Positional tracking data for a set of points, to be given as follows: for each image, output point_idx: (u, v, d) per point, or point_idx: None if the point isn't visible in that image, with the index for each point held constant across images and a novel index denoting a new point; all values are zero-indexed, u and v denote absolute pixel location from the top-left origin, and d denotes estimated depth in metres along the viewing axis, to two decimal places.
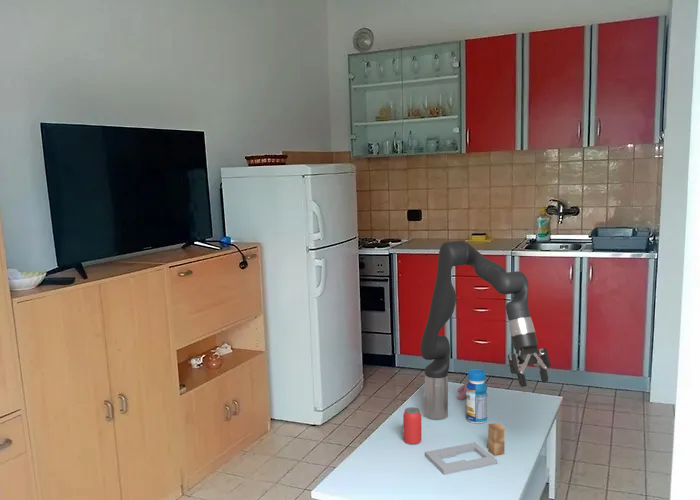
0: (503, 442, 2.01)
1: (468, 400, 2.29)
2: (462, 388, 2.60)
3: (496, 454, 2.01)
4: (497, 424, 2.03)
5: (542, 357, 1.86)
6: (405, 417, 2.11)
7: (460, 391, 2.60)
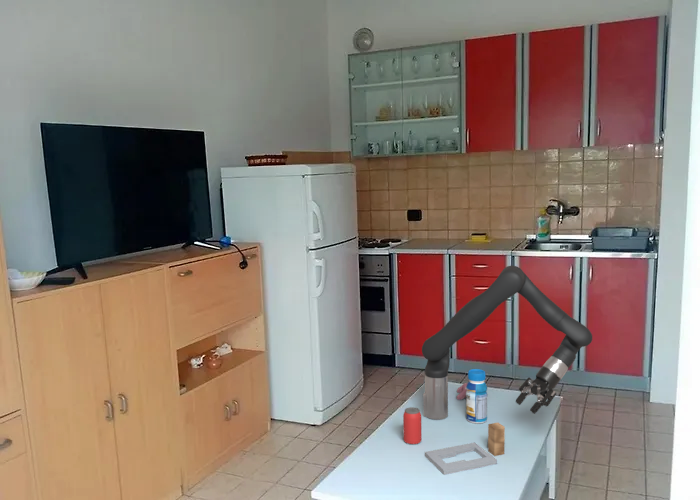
0: (503, 442, 2.01)
1: (468, 400, 2.29)
2: (461, 388, 2.60)
3: (496, 454, 2.01)
4: (497, 424, 2.03)
5: (527, 385, 2.12)
6: (405, 417, 2.11)
7: (459, 391, 2.60)
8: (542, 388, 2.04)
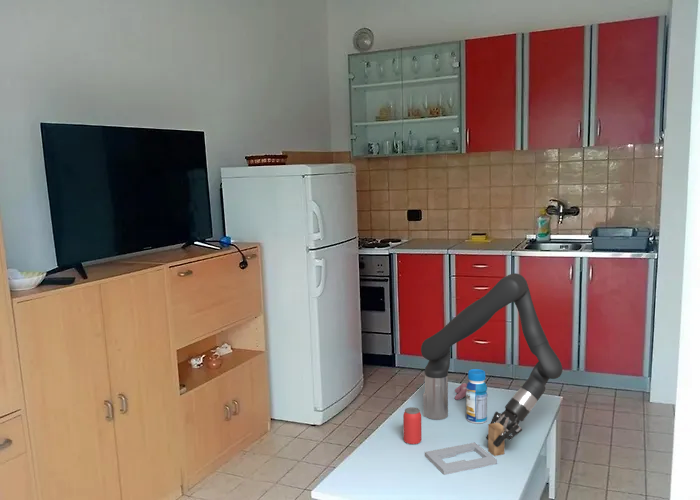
0: (503, 442, 2.01)
1: (468, 400, 2.29)
2: (459, 388, 2.60)
3: (496, 454, 2.01)
4: (497, 424, 2.03)
5: (496, 419, 2.08)
6: (405, 417, 2.11)
7: (457, 391, 2.60)
8: (510, 422, 2.01)
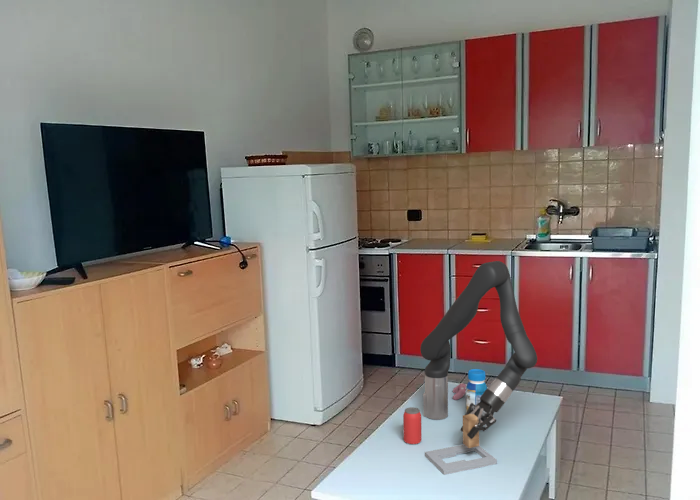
0: (478, 433, 1.97)
1: (468, 400, 2.29)
2: (457, 388, 2.60)
3: (470, 446, 1.97)
4: (472, 416, 1.99)
5: (471, 411, 2.04)
6: (405, 417, 2.11)
7: (455, 391, 2.60)
8: (484, 413, 1.97)
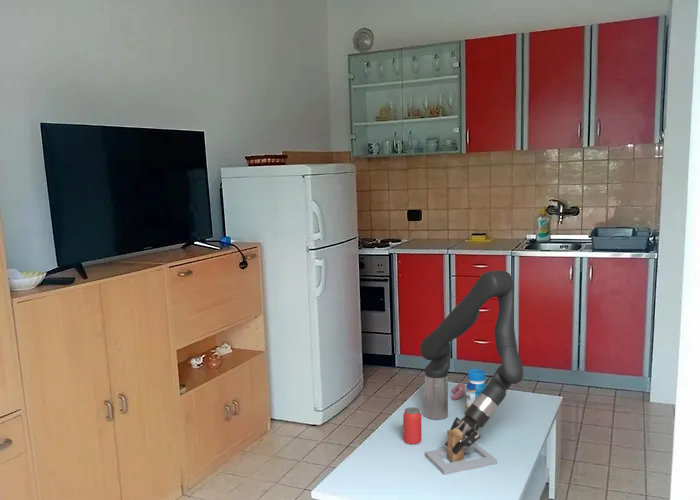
0: (462, 449, 1.96)
1: (468, 400, 2.29)
2: (456, 388, 2.60)
3: None
4: (456, 431, 1.97)
5: (456, 425, 2.02)
6: (405, 417, 2.11)
7: (454, 391, 2.60)
8: (469, 428, 1.96)
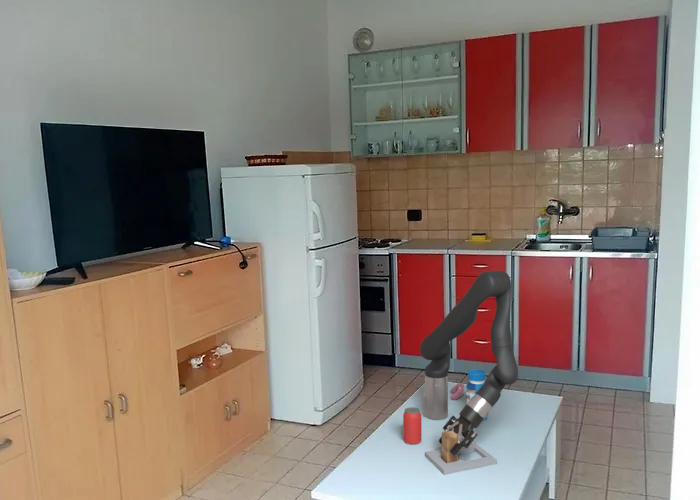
0: None
1: (468, 400, 2.29)
2: (455, 388, 2.60)
3: None
4: (451, 433, 1.97)
5: (451, 423, 2.03)
6: (405, 417, 2.11)
7: (453, 391, 2.60)
8: (464, 428, 1.95)
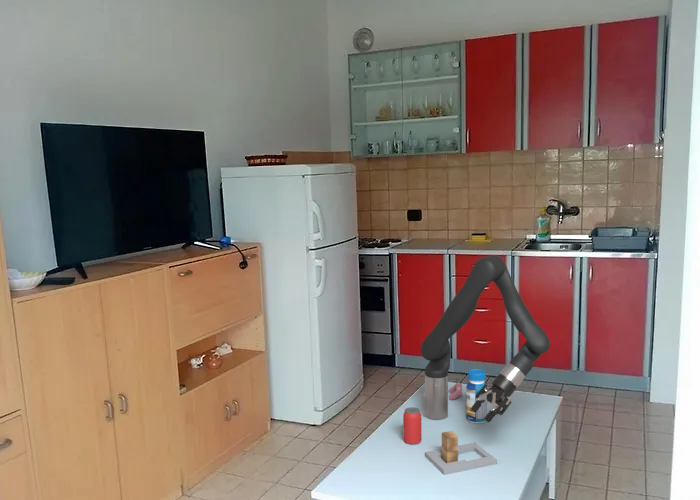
0: (456, 451, 1.96)
1: (468, 400, 2.29)
2: (453, 388, 2.60)
3: None
4: (451, 433, 1.97)
5: (483, 392, 2.06)
6: (405, 417, 2.11)
7: (451, 391, 2.60)
8: (497, 396, 1.98)
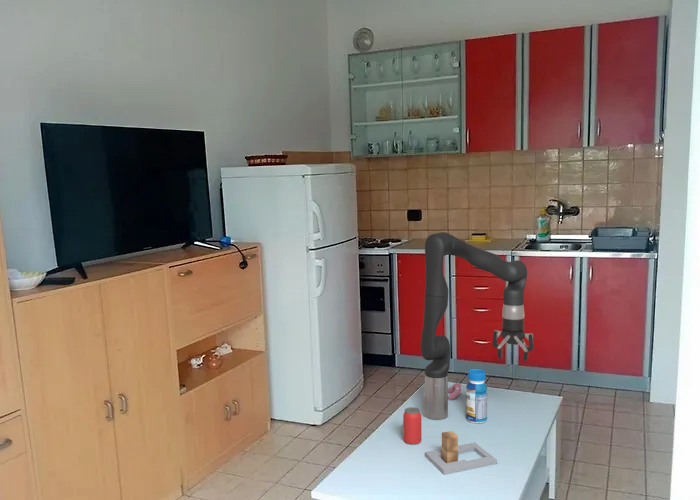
0: (456, 451, 1.96)
1: (468, 400, 2.29)
2: (452, 388, 2.60)
3: None
4: (451, 433, 1.97)
5: (496, 338, 2.11)
6: (405, 417, 2.11)
7: (450, 391, 2.61)
8: (519, 337, 2.07)
